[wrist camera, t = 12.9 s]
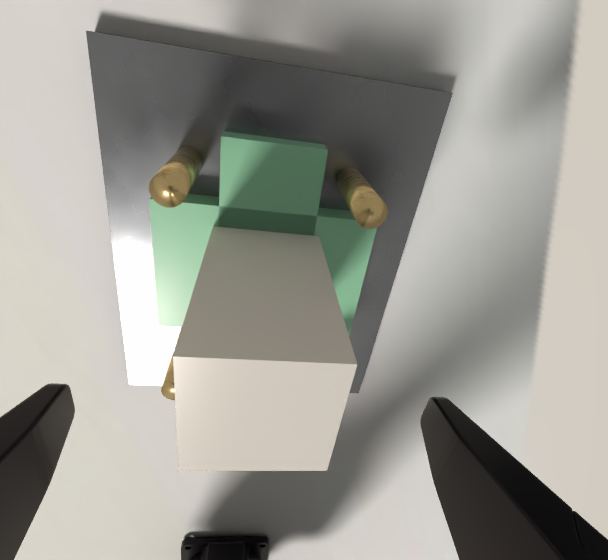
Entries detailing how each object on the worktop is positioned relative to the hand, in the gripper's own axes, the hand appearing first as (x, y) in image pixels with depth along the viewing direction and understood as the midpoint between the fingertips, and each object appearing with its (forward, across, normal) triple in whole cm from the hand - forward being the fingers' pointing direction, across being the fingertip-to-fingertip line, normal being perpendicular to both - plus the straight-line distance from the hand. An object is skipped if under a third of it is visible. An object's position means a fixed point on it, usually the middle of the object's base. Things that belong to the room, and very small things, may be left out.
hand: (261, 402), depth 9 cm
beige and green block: (+8, 0, 0) cm, 8 cm away
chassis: (+8, 0, 0) cm, 8 cm away
